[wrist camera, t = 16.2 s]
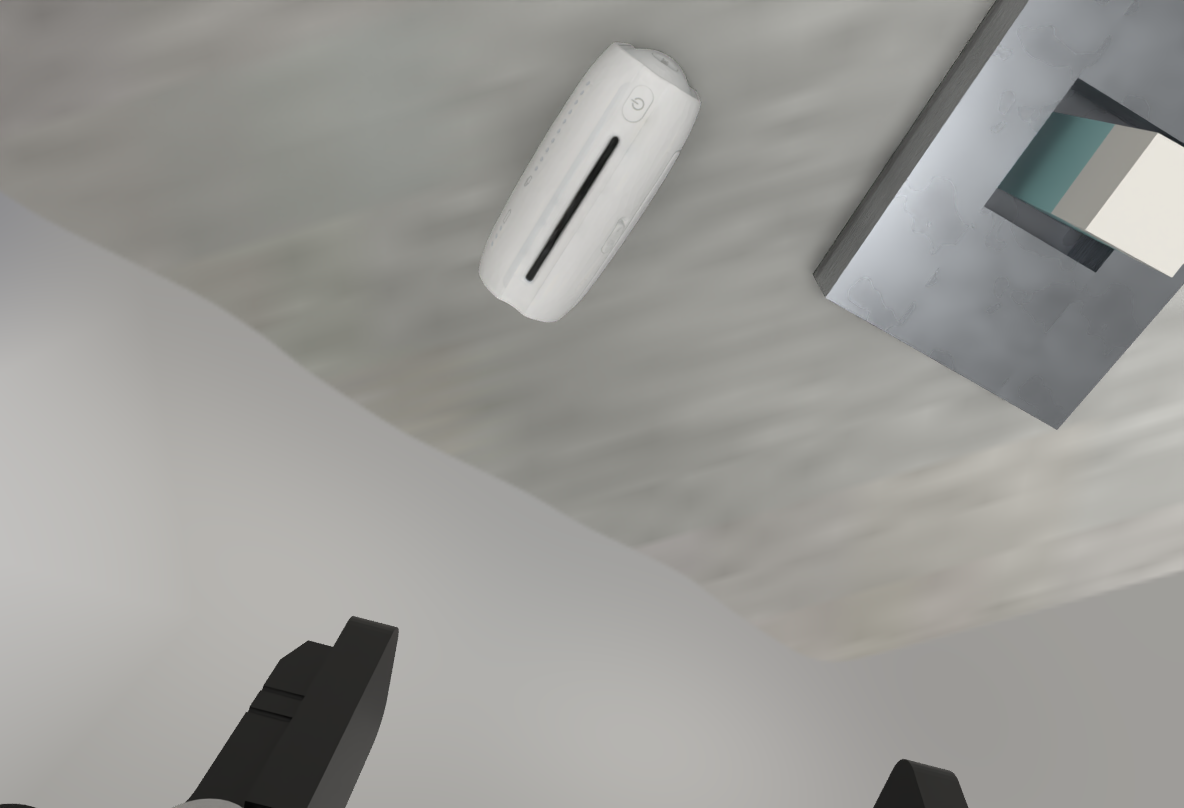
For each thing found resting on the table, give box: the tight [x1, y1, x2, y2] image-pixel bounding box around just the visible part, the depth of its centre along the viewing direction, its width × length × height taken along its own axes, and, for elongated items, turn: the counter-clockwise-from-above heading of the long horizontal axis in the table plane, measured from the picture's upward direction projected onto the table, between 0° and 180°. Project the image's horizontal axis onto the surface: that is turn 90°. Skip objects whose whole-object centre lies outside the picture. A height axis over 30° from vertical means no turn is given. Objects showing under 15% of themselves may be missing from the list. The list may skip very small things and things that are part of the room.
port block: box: [813, 0, 1184, 429], centre depth 36 cm, size 12×18×4 cm, turn 152°
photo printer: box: [479, 42, 701, 322], centre depth 34 cm, size 10×4×12 cm, turn 147°
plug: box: [997, 112, 1184, 277], centre depth 33 cm, size 4×4×9 cm
